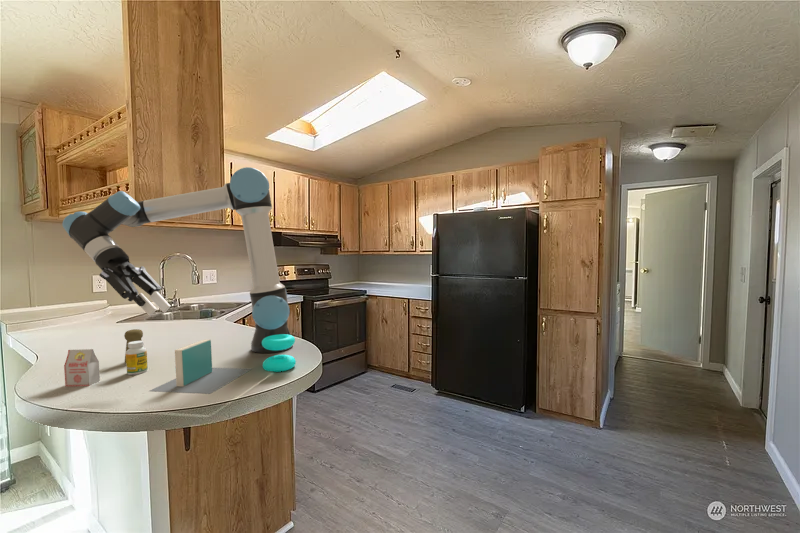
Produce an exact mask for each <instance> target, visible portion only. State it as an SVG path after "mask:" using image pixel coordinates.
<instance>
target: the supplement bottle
mask: <svg viewBox="0 0 800 533" xmlns="http://www.w3.org/2000/svg"><path fill="white" fill-rule="evenodd" d="M144 346H145V342H144V340H142V341H133V342H129V343H128V348H129V349H128V350H127V351H126V350H125V353H126V364H125V365H126V374H127V375H129V376H135V375H136V376H137V375H140V374H144V373H146V372H148V369H149V368H148V351H147V348H146V347H144Z"/></svg>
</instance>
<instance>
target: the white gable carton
mask: <svg viewBox="0 0 800 533" xmlns="http://www.w3.org/2000/svg"><path fill="white" fill-rule="evenodd" d="M94 351H95V350H94V349H92V348H91V349H89V348H88V349H87V348H86V349H84V348H83V349H78V348H77V349H68V351H67V356H66V358H65V359H66V360H65V362H64V365H63V368H64V370H63V371H64V385H65V387H90V386H92V384H93V385H95V384H97V383H99V381H101V378H100V377H101V376H100V374H101V373H100V363H99V362H100V361H99V359H98V357H97V356H96V354H95V352H94ZM94 383H95V384H94Z"/></svg>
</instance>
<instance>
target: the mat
mask: <svg viewBox="0 0 800 533" xmlns="http://www.w3.org/2000/svg"><path fill="white" fill-rule="evenodd" d="M251 370H253V368H241V367H240V368H239V367H237V368H235V367H212V372H211V373H209V374H207V375H205V376H203V377H201V378H199V379H197V380H195V381H193V382H191V383H189V384H187V385H185V386H177V385H176V378H174V379H171V380H170V381H166V382H165V383H163V384H161V385H159V386H156V387H154V388H152V389H150V390H149V392H156V393H157V392H158V393H159V392H160V393H182V394H203V395H204V394H205V395H207V394H208V395H211V394H212V393H214V392H216V391H218V390H219V389H221V388H223V387H224V386H226V385H228V384H230V383H231V382H233V381H234V380H236V379H238V378H240V377H241V376H243V375H245V374H246V373H248V372H250V371H251Z"/></svg>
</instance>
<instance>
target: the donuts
mask: <svg viewBox="0 0 800 533" xmlns="http://www.w3.org/2000/svg"><path fill="white" fill-rule="evenodd" d="M295 342H296V338H295V337H294V336H293V335H292V334H291V335H288V334H278V335H271V336H268V337H265V338H264V339H263V340H262V346H263V347H264V348H265V349H268V350H284V349H287V348H289V347H291V346H292V345H293V346H294V345H295ZM287 350H288V349H287ZM284 351H285V350H284ZM296 362H297V360H296V358H295V357H294V356H292V355H289V354H275V355H271V356H269V357H267V358H266V359H264V360H263V362H262V369H263V370H264V371H266V372H273V373H281V371H282V372H286V371H289V370H291V369H293V368H294V367H295V366H296Z"/></svg>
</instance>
